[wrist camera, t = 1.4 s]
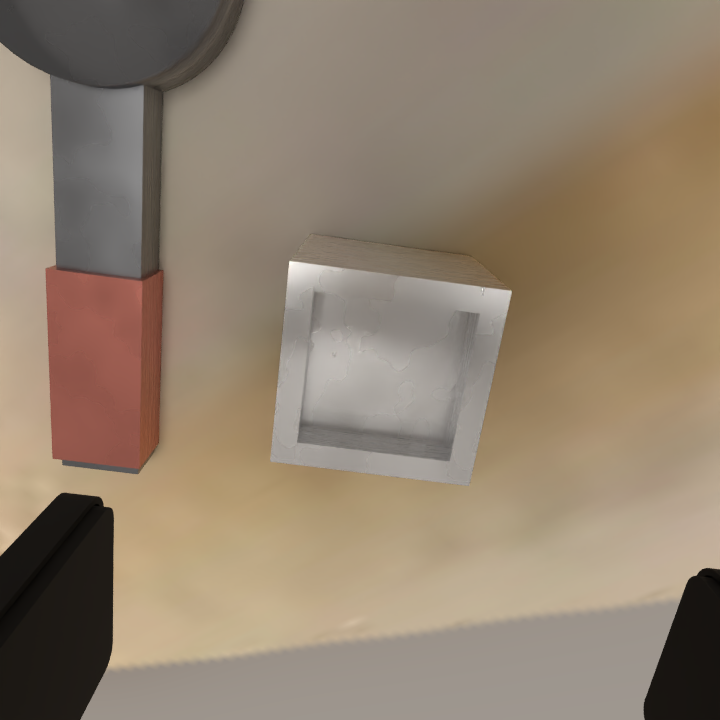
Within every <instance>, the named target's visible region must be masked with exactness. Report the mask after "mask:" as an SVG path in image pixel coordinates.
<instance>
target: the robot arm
mask: <svg viewBox="0 0 720 720" xmlns="http://www.w3.org/2000/svg"><path fill="white" fill-rule="evenodd" d="M113 542H114V514H113V510H112V509H111V508H109V507H104V506H103V501H102V499H101V498H100V497H97V496H88V495H80V494H71V493H61V494H60V495H58V496H57V497H56V498H55V499H54V500H53V501H52V502H51V503H50V505H49V506H48V507H47V508H46V509H45V510H44V511H43V512H42V513H41V514H40V515H39V516H38V517H37V518H36V519H35V520H34V521H33V522H32V523H31V525H30V526H29V527H28V528H27V529H26V530H25V531H24V532H23V533H22V534H21V535H20V536H19V537H18V538H17V539H16V540H15V541H14V542H13V544H12V545H11V546H10V547H9V548H8V549H7V550H6V551H5V552H4V553H3V554H2V555H1V556H0V720H80V719H81V717H82V715H83V713H84V711H85V709H86V707H87V705H88V703H89V702H90V700H91V698H92V696H93V694H94V692H95V690H96V688H97V686H98V684H99V682H100V680H101V678H102V677H103V674H104V673H105V671H106V668H107V666H108V663H109V660H110V656H111V652H112V644H113ZM644 718H645V720H720V569H711V568H706V569H702V570H701V571H700V572H699V573H698V574H697V576H693V577H691V578H690V579H689V580H688V582H687V584H686V587H685V590H684V593H683V595H682V598H681V601H680V604H679V606H678V609H677V612H676V615H675V618H674V620H673V623H672V626H671V629H670V632H669V634H668V637H667V640H666V643H665V645H664V648H663V651H662V654H661V657H660V659H659V662H658V665H657V668H656V671H655V674H654V676H653V679H652V682H651V685H650V688H649V690H648V693H647V696H646V698H645V702H644Z"/></svg>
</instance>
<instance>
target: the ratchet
mask: <svg viewBox="0 0 720 720" xmlns="http://www.w3.org/2000/svg"><path fill="white" fill-rule="evenodd" d="M243 1H244V0H0V42H1V43H2V44H3V45H4V46H5V47H7V48H8V49H9V50H10V51H11V52H13V53H14V54H15V55H17V56H18V57H20V58H21V59H23V60H24V61H26V62H27V63H29V64H30V65H32V66H34V67H36V68H38V69H40V70H42V71H44V72H46V73H48V74H50V80H51V112H52V144H53V176H54V208H55V240H56V265H55V266H52V267H49V268H46V293H47V320H48V347H49V374H50V400H51V427H52V454H53V459H61V460H62V463H63V465H66V466H75V467H83V468H91V469H99V470H107V471H116V472H124V473H132V474H139V472H140V471H141V469H142V468H143V467H144V465H145V464H146V463H147V461H148V460H149V459H150V457H151V456H152V454H153V453H154V449H155V447H156V446H157V445H158V443H159V412H160V375H161V338H162V301H163V270H158V269H159V228H160V187H161V145H162V104H163V92H164V91H168V90H170V89H173V88H175V87H178V86H181V85H182V84H184V83H186V82H188V81H189V80H191V79H193V78H194V77H196V76H197V75H198V74H199V73H201V72H202V71H203V70H205V69H206V68H207V67H208V66H209V65H210V64H211V63H212V62H213V61H214V60H215V58H216V57H217V56H218V55H219V53H220V52H221V51H222V49H223V48H224V46H225V45H226V44H227V42H228V40H229V38H230V36H231V34H232V33H233V31H234V29H235V26H236V24H237V21H238V18H239V16H240V13H241V10H242V5H243Z"/></svg>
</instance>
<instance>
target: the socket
mask: <svg viewBox="0 0 720 720" xmlns="http://www.w3.org/2000/svg"><path fill="white" fill-rule="evenodd" d="M511 293H512V291H511V290H510V289H509V288H508V287H507V286H506V285H504V284H503V283H502V282H501V281H500V280H499V279H497V278H496V277H495V276H494V275H493V274H492V273H490V272H489V271H488V270H487V269H486V268H485V267H483V266H482V265H481V264H480V263H479V262H478V261H476V260H475V259H474V258H473V257H472V256H468V255H461V254H453V253H446V252H439V251H431V250H424V249H417V248H409V247H402V246H395V245H387V244H380V243H373V242H366V241H358V240H351V239H344V238H336V237H329V236H322V235H314V234H310V235H309V237H308V238H307V239H306V241H305V242H304V243H303V244H302V246H301V247H300V248H299V249H298V251H297V252H296V253H295V255H294V256H293V257H292V258H291V260H290V261H289V271H288V281H287V291H286V302H285V312H284V323H283V333H282V344H281V354H280V365H279V375H278V386H277V396H276V407H275V417H274V428H273V438H272V449H271V459H270V462H278V463H286V464H295V465H303V466H311V467H319V468H327V469H335V470H343V471H352V472H360V473H368V474H376V475H384V476H392V477H400V478H408V479H417V480H425V481H433V482H441V483H449V484H457V485H465V486H469V484H470V480H471V475H472V471H473V466H474V462H475V457H476V452H477V448H478V443H479V439H480V434H481V430H482V425H483V421H484V416H485V411H486V407H487V402H488V398H489V393H490V389H491V384H492V380H493V375H494V370H495V366H496V361H497V357H498V352H499V348H500V343H501V339H502V334H503V329H504V325H505V320H506V316H507V311H508V307H509V302H510V298H511Z"/></svg>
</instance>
